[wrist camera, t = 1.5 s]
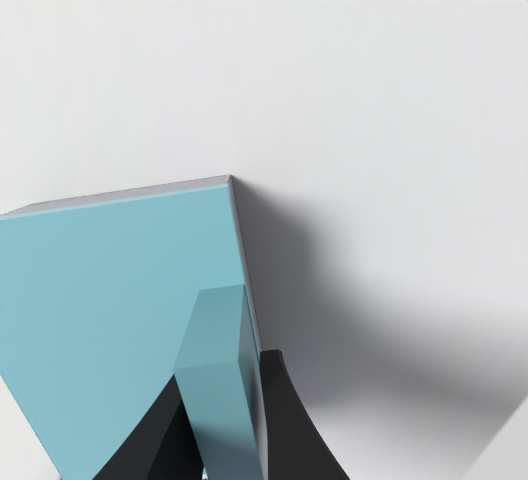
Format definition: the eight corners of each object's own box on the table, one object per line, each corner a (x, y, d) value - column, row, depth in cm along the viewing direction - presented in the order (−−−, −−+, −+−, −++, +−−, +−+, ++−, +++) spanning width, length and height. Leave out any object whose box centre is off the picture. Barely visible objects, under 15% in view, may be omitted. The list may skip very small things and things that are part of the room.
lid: (276, 431, 15) (286, 575, 10) (87, 454, 15) (11, 606, 10) (231, 178, 10) (209, 222, 6) (-38, 217, 11) (-276, 292, 6)
